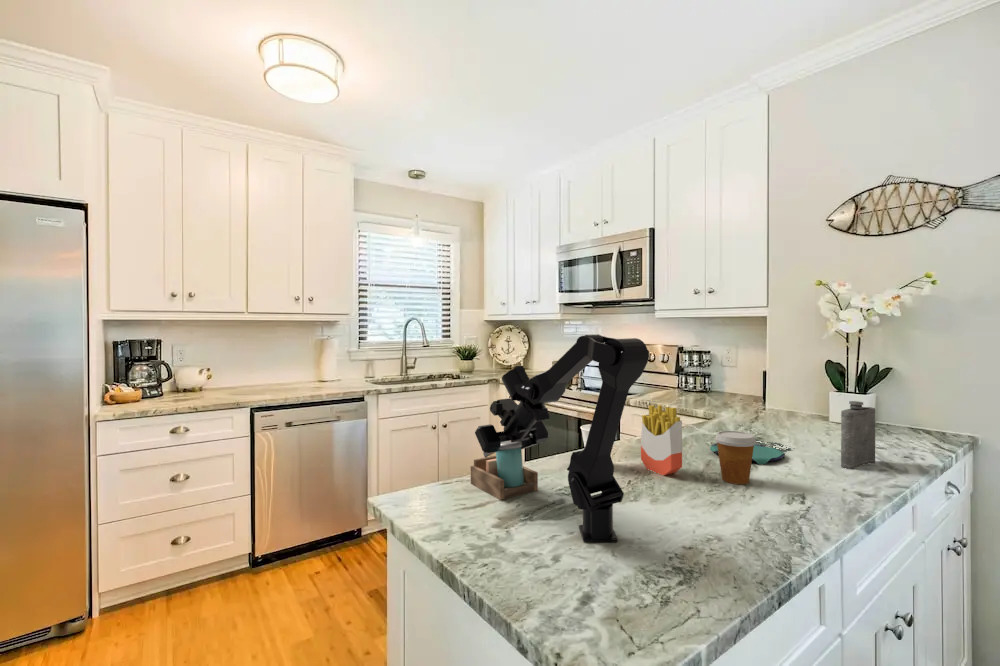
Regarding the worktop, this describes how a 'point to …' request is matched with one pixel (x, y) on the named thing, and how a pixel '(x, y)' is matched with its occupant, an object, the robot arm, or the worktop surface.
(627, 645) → the worktop surface
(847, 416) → the flask
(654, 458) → the french fries container
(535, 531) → the worktop surface
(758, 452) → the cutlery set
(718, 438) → the disposable coffee cup
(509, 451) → the teal lidded canister
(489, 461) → the bar
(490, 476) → the small wooden crate
